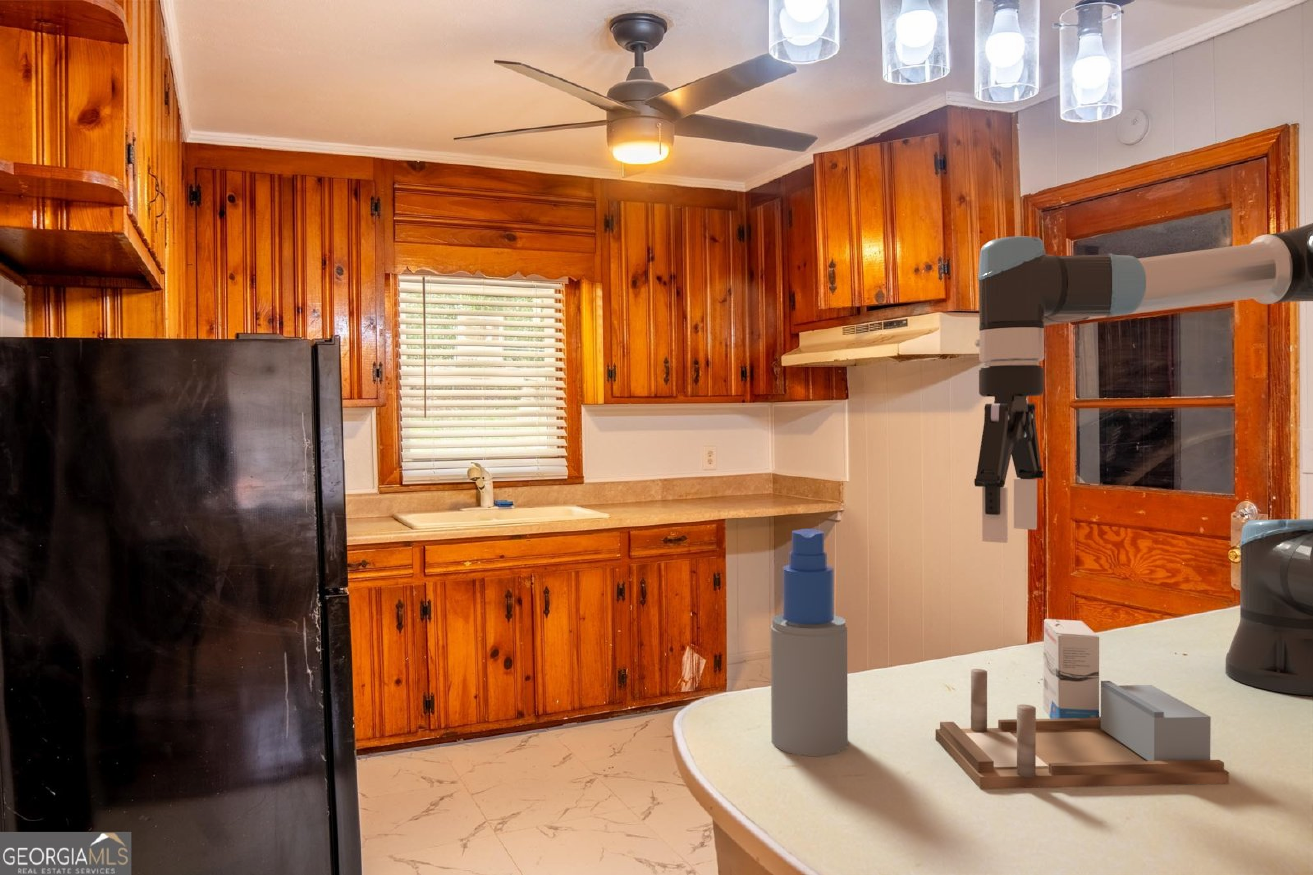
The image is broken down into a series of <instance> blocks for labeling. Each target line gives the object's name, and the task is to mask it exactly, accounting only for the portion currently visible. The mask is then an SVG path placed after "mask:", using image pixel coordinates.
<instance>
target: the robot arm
mask: <svg viewBox="0 0 1313 875" xmlns="http://www.w3.org/2000/svg"><path fill="white" fill-rule="evenodd" d="M1046 253H1047V252H1046V249H1045V243H1044V241H1043V240H1042V239H1041V238H1040V237H1037V236H1030V235H1029V236H1028V235H1027V236H1024V235H1023V236H1022V235H1020V236H1006V237H1001V238H995V239H992V240H990V241H988V242H986V243H984V244H983V245H982V247H981V248H980V253H979V261H978V275H977V276H978V277H977V281H978V310H979V311H978V313H979V315H978V316H979V322H978V323H979V329H978V330H979V334H978V335H979V338H978V339H976V340H975V342H974V344H975V346H976V347H977V348H979V352H978V353H979V354H978V355H979V362H981V363H982V364H984V366H982V367H980V369H979V370H978V393H979V395H980V396H981V397H984V398H985V397H987V398H989V397H991V398H992V397H993V398H994V401H993V403H985V405H984V408H983V409H984V410H983V411H984V416H983V417H984V419H983V420H984V421H983V428H982V434H981V435H982V436H981V441H980V442H981V443H980V447H979V448H980V449H979V455H978V461H977V467H976V474H975V478H974V481H973V483H974V487H979V488H982V489H981V490H982V495H981V496H982V497H981V498H982V499H981V500H982V503H981V504H982V508H981V509H982V512H981V514H982V515H981V516H982V517H981V518H982V522H981V523H982V526H981V527H982V530H981V532H982V533H981V534H982V537H981V538H982V542H988V543H1003V544H1007V543H1008V540H1009V539H1008V533H1009V532H1008V526H1009V525H1008V524H1009V523H1008V517H1009V516H1008V511H1009V510H1008V507H1009V506H1008V490H1009V489H1008V487H1007V486H1006V487H1005V484H1006V478H1007V476H1008V471H1009V465H1010V463H1011V458H1012V462H1013V466H1014V471H1015V475H1016V478H1014V479H1013V529H1021V530H1034V531H1036V530H1037V529H1038V479H1040V480H1041V479H1044V477H1045V471H1044V470H1042V469H1043V468H1042V467H1043V466H1042V463H1041V462H1042V461H1041V455H1040V454H1041V452H1040V447H1039V439H1038V438H1039V437H1038V431H1037V430H1038V429H1037V422H1036V421H1037V420H1036V404H1035V403H1034V402H1033V403H1031V402H1029V403H1028V397H1038V396H1042V394H1044V392H1045V385H1044V383H1045V382H1044V380H1045V379H1044V378H1045V374H1044V372H1045V371H1044V368H1043V366H1042V365H1040V362H1042V361H1044V359H1045V333H1044V332H1045V327H1047V326H1050V325H1052V326H1053V325H1060V324H1066V323H1073V322H1074V323H1075V322H1080V321H1086V320H1087V321H1088V320H1093V319H1094V320H1095V319H1103V318H1112V317H1117V316H1129V315H1132V314H1141V313H1142V314H1143V313H1150V312H1151V313H1152V312H1158V311H1167V310H1173V309H1181V308H1182V309H1183V308H1190V307H1196V306H1197V307H1198V306H1205V305H1213V304H1220V303H1229V302H1236V301H1245V300H1251V299H1253V300H1254V301H1256V302H1257V303H1259V304H1261V305H1262V304H1263V305H1271V304H1277V303H1278V304H1279V303H1288V302H1289V303H1293V302H1313V222H1312V223H1309V224H1306V225H1303V226H1300V227H1296V228H1291V229H1289V230H1285V231H1282V232H1281V231H1280V232H1277V233H1276V232H1275V233H1269V234H1261V235H1259V236H1257V237H1255V238H1253V240H1252V241H1251V242H1250V243H1248V244H1242V245H1241V244H1239V245H1232V246H1225V247H1217V248H1211V249H1202V250H1194V251H1188V252H1187V251H1185V252H1178V253H1172V254H1171V253H1170V254H1164V255H1163V254H1162V255H1155V256H1149V257H1142V258H1137V257H1135V256H1134V255H1123V254H1121V255H1119V254H1113V253H1112V252H1111V253H1108V254H1086V255H1085V254H1082V255H1081V254H1080V255H1054V254H1046ZM1238 548H1239V549H1240V587H1239V589H1240V590H1239V592H1240V593H1239V595H1240V596H1239V597H1240V599H1239V600H1240V604H1239V605H1240V608H1239V609H1240V610H1239V611H1240V612H1239V615H1240V617H1239V618H1240V619H1239V623H1238V626H1237V628H1236V631H1235V633H1234V636H1233V639H1232V641H1231V644H1230V646H1229V649H1228V652H1227V653H1226V656H1225V668H1224V669H1225V673H1226V675H1227V676H1229V678H1231V679H1233V680H1235V681H1237V682H1240V683H1243V684H1245V685H1248V686H1252V687H1254V688H1255V687H1256V688H1260V689H1263V690H1264V689H1265V690H1269V691H1272V692H1279V693H1284V694H1285V693H1286V694H1293V695H1300V696H1301V695H1302V696H1312V697H1313V518H1309V519H1308V518H1306V519H1304V518H1302V519H1301V518H1299V519H1296V518H1295V519H1293V518H1290V519H1250V520H1249V521H1246V522H1245V523H1244V524H1243V526H1242V530H1241V536H1240V542H1239V547H1238Z"/></svg>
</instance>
